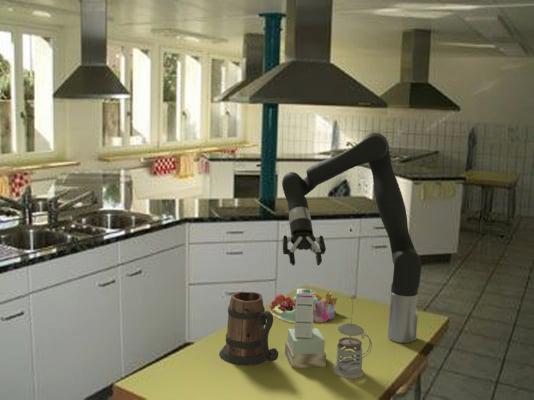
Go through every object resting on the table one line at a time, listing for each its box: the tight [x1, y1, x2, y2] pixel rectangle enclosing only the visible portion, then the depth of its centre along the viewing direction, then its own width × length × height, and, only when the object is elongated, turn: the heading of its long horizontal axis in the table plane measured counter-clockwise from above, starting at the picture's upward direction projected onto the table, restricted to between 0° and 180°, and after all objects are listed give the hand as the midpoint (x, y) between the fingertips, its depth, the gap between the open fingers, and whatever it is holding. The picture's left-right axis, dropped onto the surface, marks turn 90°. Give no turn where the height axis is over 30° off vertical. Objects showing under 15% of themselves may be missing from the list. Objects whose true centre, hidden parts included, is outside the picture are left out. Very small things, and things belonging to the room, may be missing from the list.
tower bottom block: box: [284, 341, 327, 369], centre depth 188 cm, size 11×11×4 cm
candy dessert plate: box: [269, 290, 338, 324], centre depth 230 cm, size 25×24×9 cm
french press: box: [332, 293, 373, 379], centre depth 179 cm, size 10×12×25 cm
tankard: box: [218, 291, 279, 367], centre depth 187 cm, size 24×17×20 cm
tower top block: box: [286, 327, 326, 355], centre depth 187 cm, size 10×10×4 cm
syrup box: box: [294, 288, 315, 338], centre depth 186 cm, size 6×6×14 cm
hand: (306, 264), depth 191 cm, fingers open, 8 cm apart
